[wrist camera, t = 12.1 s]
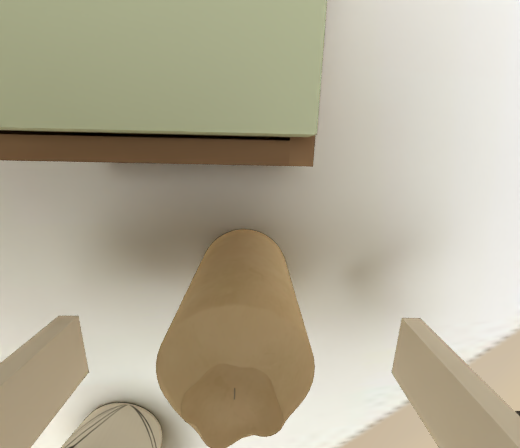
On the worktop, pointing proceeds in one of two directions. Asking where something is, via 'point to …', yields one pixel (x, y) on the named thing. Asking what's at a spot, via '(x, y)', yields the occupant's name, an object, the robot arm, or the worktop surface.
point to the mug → (117, 429)
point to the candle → (237, 343)
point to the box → (156, 148)
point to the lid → (162, 66)
